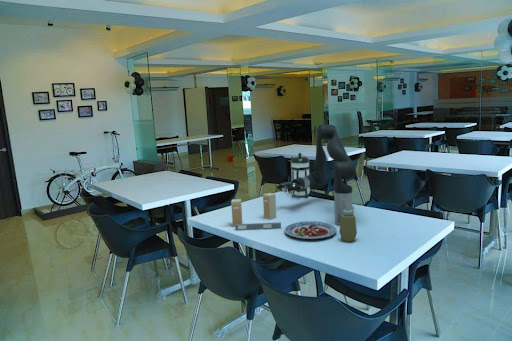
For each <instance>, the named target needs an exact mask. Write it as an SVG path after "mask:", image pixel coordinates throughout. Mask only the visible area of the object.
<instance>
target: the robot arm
mask: <svg viewBox="0 0 512 341" xmlns="http://www.w3.org/2000/svg"><path fill="white" fill-rule="evenodd" d="M323 140H326V141H327V140H328V143H327V145H326V151H327V153H328V155H329V158H331V159H332V160H333V161H335V162H334V164H333V167H332V168H333V170H332V171H333V187H334V188H333V191H334V193H333V194H334V196H333V198H334V205H333V206H334V208H333V209H334V224H335V225H338V226H340V220H341V215H342V214H343V210H345V208H346V203H349V204H350V209H351V210H353V215H355V214H354V213H355V210H354V209H355V208H354V206H353V187H352V186H351V185H350V184H346V183H343V182H342V180H351V179H354V178H355V177H356V173H357V171H356V166H355V164H354V162H353V160H352V159H351V158H350V156H349V155H348V153H347V151H346V149H345V146H344V145H343V143H342V141H341V139H340V137H339V133H338V130H337V127H336V126H335V125H334V124H326V123H324V124H322V123H321V124H319V125H318V126H317V129H316V144H315V148H316V149H315V159H314V164H313V165H314V166H313V168H314V170H315V171H312V172H310V173H309V175H308V176H305V177H300V178H296V179H293V180H292V179H291V181H290V182H287V181H285V182H281V183H279V185H276V189H277V190H280V189H281V190H282V189H285V190H287V192H289V193H290V192H292V191H299V190H302V189H305V188H307V187H313V186H314V185H317V186H320V187H321V186H324V184H326V181H327V174H326V173H327V172H326V166H327V159H328V157H327V154H326V151H325V150H324V148H323Z"/></svg>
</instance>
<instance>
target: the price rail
mask: <svg viewBox="0 0 512 341" xmlns="http://www.w3.org/2000/svg"><path fill="white" fill-rule="evenodd" d="M277 229H279V230H280V229H282V223H281V222H278V221H277V222H258V223H257V222H256V223H253V222H252V223H242V224H235V227H234V230H235V231H253V230H254V231H256V230H277Z"/></svg>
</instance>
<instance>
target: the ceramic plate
mask: <svg viewBox="0 0 512 341" xmlns="http://www.w3.org/2000/svg"><path fill="white" fill-rule="evenodd" d="M284 232H285V234H287V235H289V236H290V237H293V238H297V239H298V238H299V239H305V240H306V239H307V240H309V239H310V240H314V239H315V240H316V239H323V238H328V237H330V236H333V235H334V234H336V233H337V227H336V226H334V225H333V224H331V223H327V222H324V221H323V222H322V221H314V220H313V221H312V220H309V221H308V220H307V221H298V222H294V223H291V224H289V225H286V227H285V228H284Z"/></svg>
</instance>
